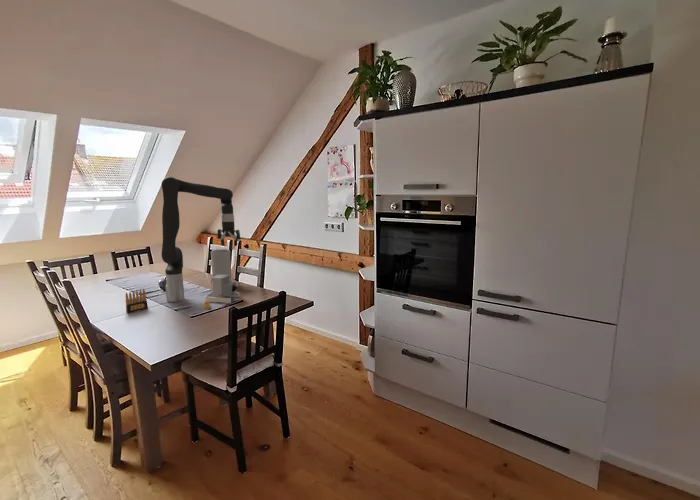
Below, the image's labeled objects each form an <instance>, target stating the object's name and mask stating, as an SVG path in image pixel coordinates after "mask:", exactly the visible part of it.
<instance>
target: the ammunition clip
mask: <svg viewBox="0 0 700 500" xmlns="http://www.w3.org/2000/svg"><path fill="white" fill-rule="evenodd" d="M125 308H126V309H125V312H126V314H129V315H130V314H132V313H137V312H140V311H141V312H142V311H144V310H148V309H149V305H148V300H147V295H146V290H145V289H144V288H143V290H141V289H139V292H138V290H136V291H134V290H133V291H132V292H131V291H129V293H128V292H126V293H125Z"/></svg>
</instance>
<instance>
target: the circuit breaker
mask: <svg viewBox="0 0 700 500" xmlns="http://www.w3.org/2000/svg"><path fill="white" fill-rule="evenodd" d="M210 285H212V292H213V294H212V297H221V298H231V297H230V296H232V295H234V294H235V293H237V290H238V286H237V281H236V280H232V281H229V275H216V276H214V277H213V276H212V277H211V278H210Z"/></svg>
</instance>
